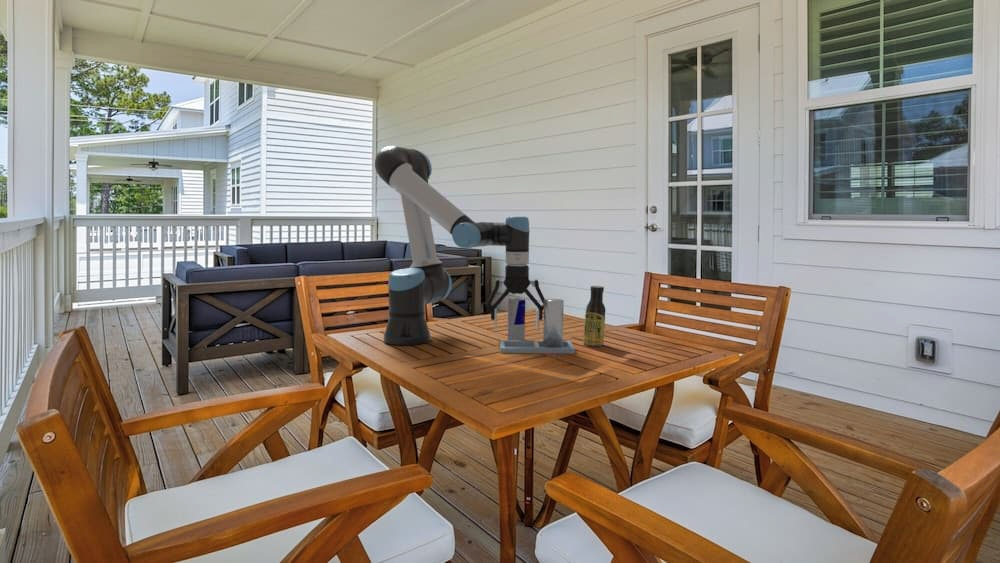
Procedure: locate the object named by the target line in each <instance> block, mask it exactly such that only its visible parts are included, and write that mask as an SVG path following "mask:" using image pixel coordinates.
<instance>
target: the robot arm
mask: <svg viewBox="0 0 1000 563" xmlns="http://www.w3.org/2000/svg"><path fill="white" fill-rule="evenodd" d="M374 168H375V172H376V174H377V176H379V178H380V179H381V180H382V181H383V182H384V183H385V184H386V185H388V186H389V187H390V188H391V189H394V190H395V192H397V193H398V194H399V195H400V198H401V202H402V203H401V204H402V208H403V215H404V219H405V225H406V230H407V231H406V232H407V236H408V243H409V248H410V253H411V259H412V263H411V265H410V266H409V267H406V268H400V269H395V270H393V271H392V272H391V273H390V272H389V275H388V283H387V288H388V321H387V323H386V328H385V331H384V333H383V342H384V343H386V344H389V345H395V346H415V345H422V344H425V343H428V342H430V340H431V331H429V327H428V323H427V320H426V317H425V316H426V313H425V311H426V310H425V308H426V307H425V306H426V305H429V304H435V303H439V302H441V301H442V300H444V299H446V298H447V297H448V295H449V294H450V293H451V290H452V288H453V287H452V285H453V284H452V283H453V281H452V277H451V275H450V274H449V272H448V271H447V270H445V269H444V265H443V262H442V260H440V259H439V258H438V257H437V249H436V244H435V238H434V234H433V232H434V231H433V227H432V222H431V219H433V220H434V221H435V222H436V223H437V224H439V225H440V226H441V227H442V228H444V229H445V230H446V231H447V232H448V233H449V234H450V235H451V237H452V239H453V242H454V244H455V245H456V246H458V247H459V248H465V249H472V248H476V247H477V248H479V247H487V246H488V247H489V246H494V247H495V246H496V247H498V246H499V247H503V246H505V264H506V265H505V271H504V272H505V276H504V277H505V278H504V280H501V279H498V278H496V280H495V284H494V287H493V289H492V291H491V293H490V295H489V297H488V299H487V301H486V303H485V308H486V309H488V310H490V320H492V321H494V331H498V310H497V307H498V306H499V305H500V304H501V303H502V301H503V300H504V299H505V298H506V297H507V296H508V295H509V294H512V295H514V294H515V295H516V294H520V295H522V294H524V293H525V295H527V297H528V298H529V299H530V300H531V302H532V303H533V304H534V306H535V307H536V309H535V330H536V331H537V332H539V331H540V321H543V315H544V300H545V299H546V298H545V296H544V295H543V293H542V290H541V288H540V283H539V281H538V279H534V280H530V277H529V276H530V267H529V265H528V264H530V220H529V217H526V216H506V218H505V221H504V222H493V221H492V222H490V221H489V222H486V221H479V222H475V221H474V220H472V218H470V217H469V216H467V215H466V214H465V213H464V212H463V211H462V210H460V208H458V207H457V206H456V205H455V204H453V203H452V202H451V201H450V200H449V199H447V198H446V197H445V196H444V195H442V194H441V193H440V192H439V191H438V190H437V189H435V187H433V186H432V185H431V184H430V183H429V179H430V176H431V175H432V170H433V169H432V163H431V161H430V158H429V157H428V156H427V155H426V154H425V153H424V152H422V151H419V150H418V149H415V148H407V147H400V146H396V145H389V146H388V145H387V146H385V147H383V148H382V149H380V150H379V152H378V153H377V154H376V156H375V159H374ZM503 285H504V286H505V289H504V290H503V292H502V294H500V295H499V297H498V298H497V299H495V301H494V303H492V302H493V300H494V298H495V296H496V294H497V293H498V291H499V289H500V288H501V287H502V286H503ZM530 285H531V286H532V287H533V288H534V289H535V291H536V292H537V295H538V297H539V299H540V301H541V303H542V304H541V303H539V301H538V300H537V299H536V297H534V295H533V294H532V293H531V291H529V289H528V288H529V286H530Z"/></svg>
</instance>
